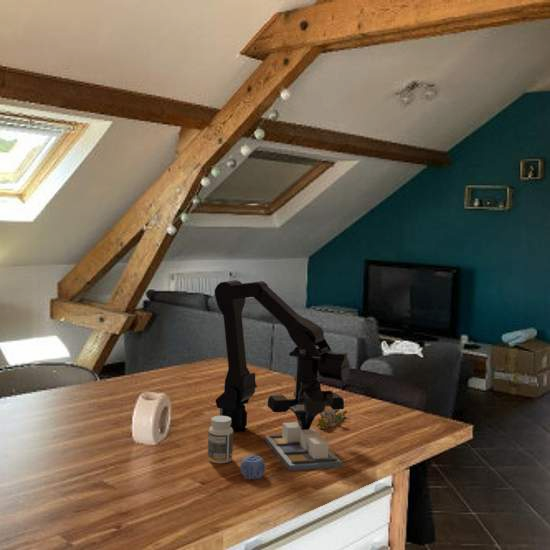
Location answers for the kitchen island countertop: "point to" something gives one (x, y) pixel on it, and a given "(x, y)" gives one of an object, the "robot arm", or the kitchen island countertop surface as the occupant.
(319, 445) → the white cube
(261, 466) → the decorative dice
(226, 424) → the pill bottle
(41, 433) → the kitchen island countertop surface
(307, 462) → the dip bank
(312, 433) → the white cube
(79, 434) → the kitchen island countertop surface
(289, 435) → the white cube
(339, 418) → the toy
